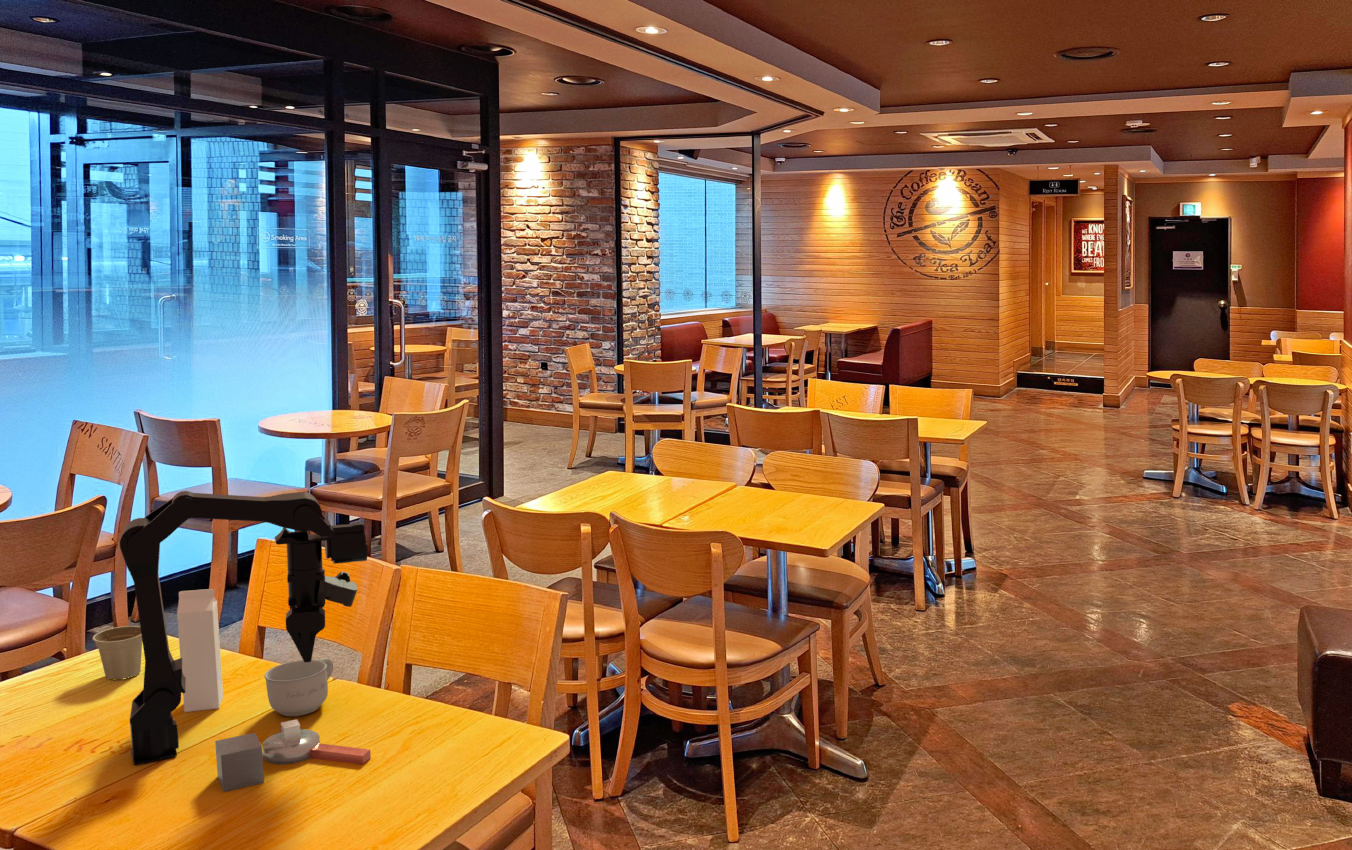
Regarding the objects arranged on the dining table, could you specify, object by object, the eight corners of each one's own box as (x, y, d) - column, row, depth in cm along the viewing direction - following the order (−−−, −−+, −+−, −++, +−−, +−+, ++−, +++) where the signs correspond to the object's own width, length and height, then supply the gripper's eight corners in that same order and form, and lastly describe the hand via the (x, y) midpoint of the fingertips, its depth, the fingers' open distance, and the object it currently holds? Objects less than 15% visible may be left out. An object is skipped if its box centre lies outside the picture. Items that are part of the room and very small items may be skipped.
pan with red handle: (251, 760, 177) (250, 732, 176) (284, 737, 185) (282, 710, 184) (352, 773, 172) (350, 744, 171) (380, 749, 181) (379, 721, 180)
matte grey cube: (223, 791, 166) (220, 755, 165) (217, 776, 171) (215, 740, 170) (264, 782, 169) (261, 746, 168) (257, 767, 174) (255, 732, 173)
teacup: (289, 727, 189) (286, 684, 188) (254, 712, 196) (252, 670, 195) (355, 702, 200) (353, 661, 199) (320, 688, 207) (318, 648, 206)
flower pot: (85, 682, 210) (81, 640, 209) (117, 665, 219) (114, 624, 218) (128, 685, 208) (124, 642, 207) (159, 667, 218) (156, 626, 216)
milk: (219, 708, 197) (211, 593, 194) (183, 712, 196) (175, 596, 192) (223, 696, 203) (216, 584, 200) (188, 699, 202) (181, 586, 198)
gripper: (355, 577, 179) (357, 667, 181) (352, 549, 196) (354, 631, 198) (284, 582, 175) (287, 673, 177) (287, 553, 193) (291, 637, 195)
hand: (308, 652), depth 187 cm, fingers open, 9 cm apart
